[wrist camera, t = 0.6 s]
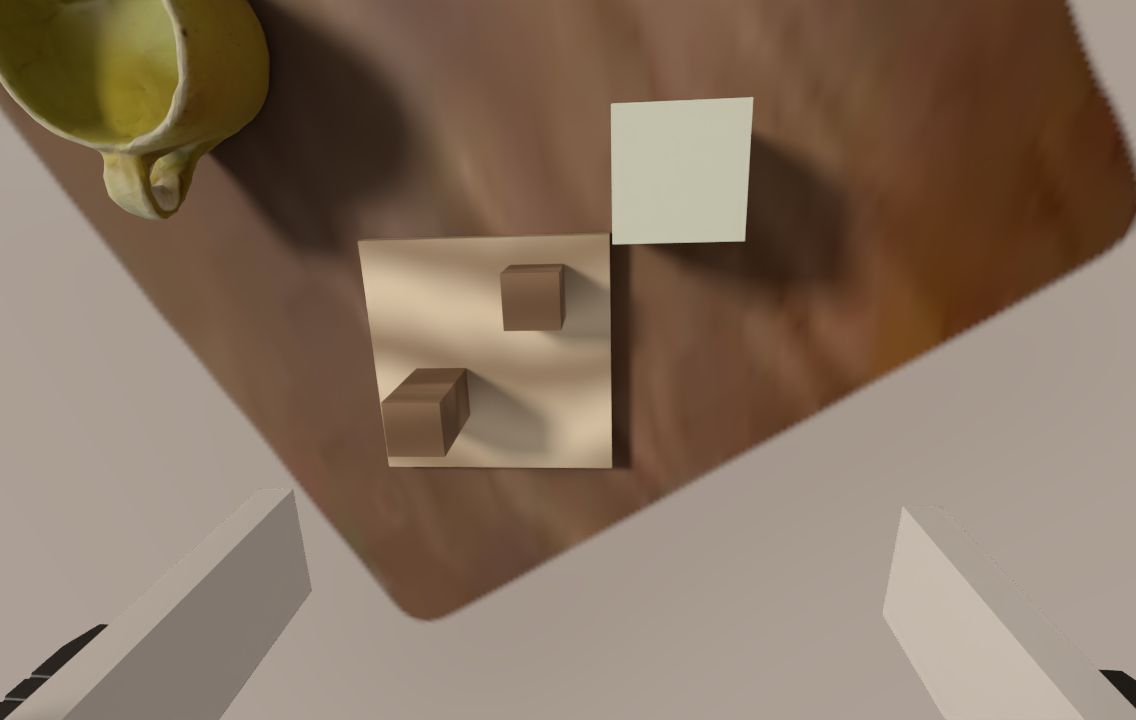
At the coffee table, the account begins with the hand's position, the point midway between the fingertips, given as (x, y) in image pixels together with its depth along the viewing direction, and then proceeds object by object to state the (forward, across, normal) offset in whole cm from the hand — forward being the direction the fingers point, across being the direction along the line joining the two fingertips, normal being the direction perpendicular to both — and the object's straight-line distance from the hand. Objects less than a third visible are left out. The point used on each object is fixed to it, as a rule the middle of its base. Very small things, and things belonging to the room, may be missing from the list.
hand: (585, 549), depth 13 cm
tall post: (+21, -10, -5) cm, 24 cm away
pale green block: (+22, +3, +8) cm, 24 cm away
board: (+22, -7, -3) cm, 23 cm away
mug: (+23, -22, +12) cm, 34 cm away
